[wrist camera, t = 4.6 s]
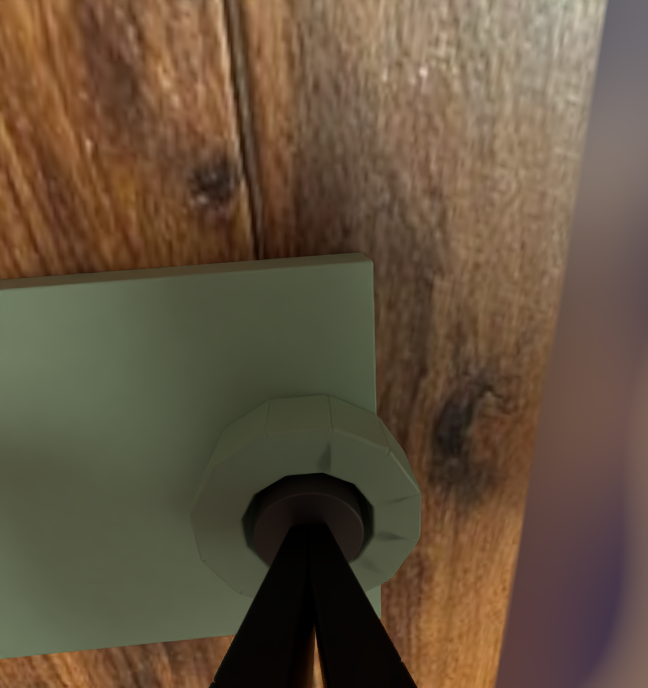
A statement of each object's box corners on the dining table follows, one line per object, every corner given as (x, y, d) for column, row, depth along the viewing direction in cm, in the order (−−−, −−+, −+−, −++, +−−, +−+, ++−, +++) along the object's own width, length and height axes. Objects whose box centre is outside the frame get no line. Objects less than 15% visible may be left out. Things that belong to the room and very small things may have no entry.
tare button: (353, 446, 10) (362, 488, 8) (357, 523, 11) (366, 573, 9) (254, 455, 10) (245, 498, 8) (266, 532, 11) (260, 583, 9)
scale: (388, 249, 10) (429, 268, 7) (391, 567, 14) (417, 673, 11) (-124, 288, 10) (-337, 328, 7) (29, 603, 14) (-55, 724, 11)
